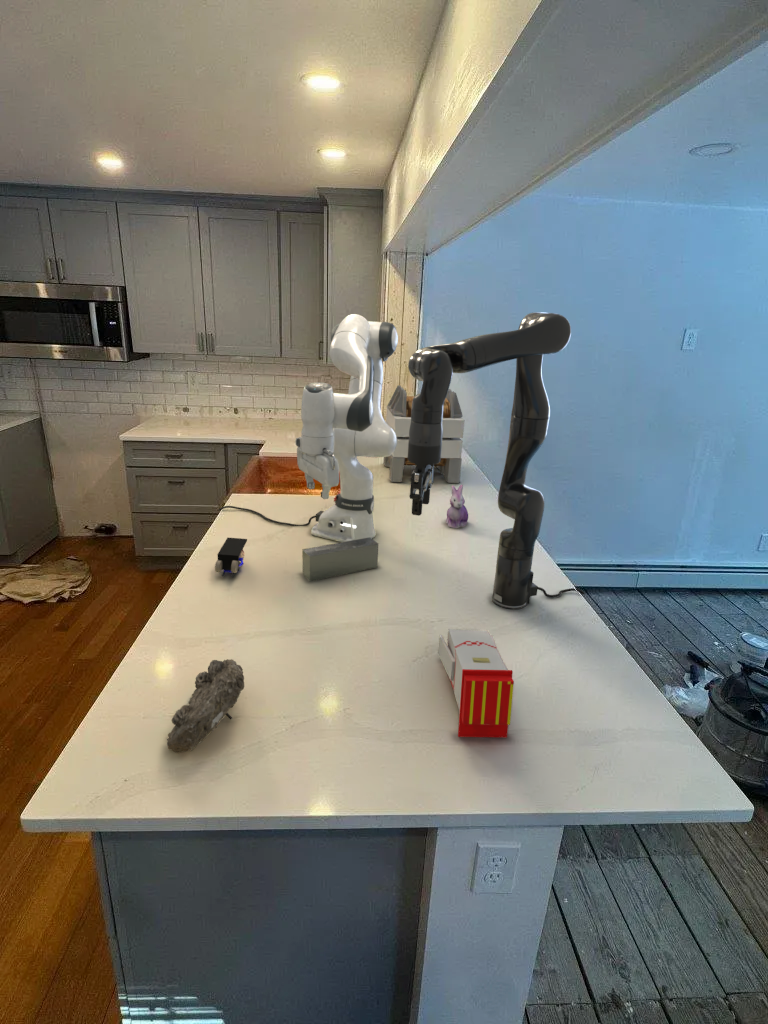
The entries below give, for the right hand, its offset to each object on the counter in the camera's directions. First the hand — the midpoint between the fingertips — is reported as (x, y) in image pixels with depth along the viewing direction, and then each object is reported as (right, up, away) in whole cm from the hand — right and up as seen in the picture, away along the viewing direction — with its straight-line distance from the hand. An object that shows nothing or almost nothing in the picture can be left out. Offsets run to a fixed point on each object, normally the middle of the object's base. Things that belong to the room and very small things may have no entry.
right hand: (420, 509), depth 133 cm
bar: (-22, -18, +37) cm, 47 cm away
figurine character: (-53, -18, +35) cm, 66 cm away
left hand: (-27, +4, +25) cm, 37 cm away
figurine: (+18, -5, +78) cm, 81 cm away
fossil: (-41, -40, -25) cm, 63 cm away
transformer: (+9, +18, +142) cm, 143 cm away
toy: (+9, -38, -14) cm, 42 cm away
